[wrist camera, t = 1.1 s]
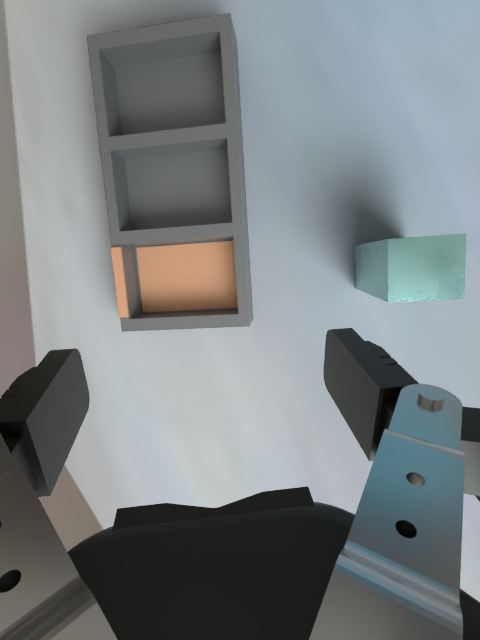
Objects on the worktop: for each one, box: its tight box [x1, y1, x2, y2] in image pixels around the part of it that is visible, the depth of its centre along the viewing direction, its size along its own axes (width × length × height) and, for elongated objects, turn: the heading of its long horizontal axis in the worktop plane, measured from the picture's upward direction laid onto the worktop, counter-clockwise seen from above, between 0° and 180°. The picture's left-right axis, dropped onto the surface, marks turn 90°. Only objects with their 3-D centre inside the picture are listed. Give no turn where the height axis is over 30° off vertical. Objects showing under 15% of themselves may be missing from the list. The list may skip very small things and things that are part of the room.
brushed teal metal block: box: [355, 234, 466, 302], centre depth 25 cm, size 4×4×10 cm
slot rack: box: [87, 13, 253, 331], centre depth 29 cm, size 22×11×4 cm, turn 4°
